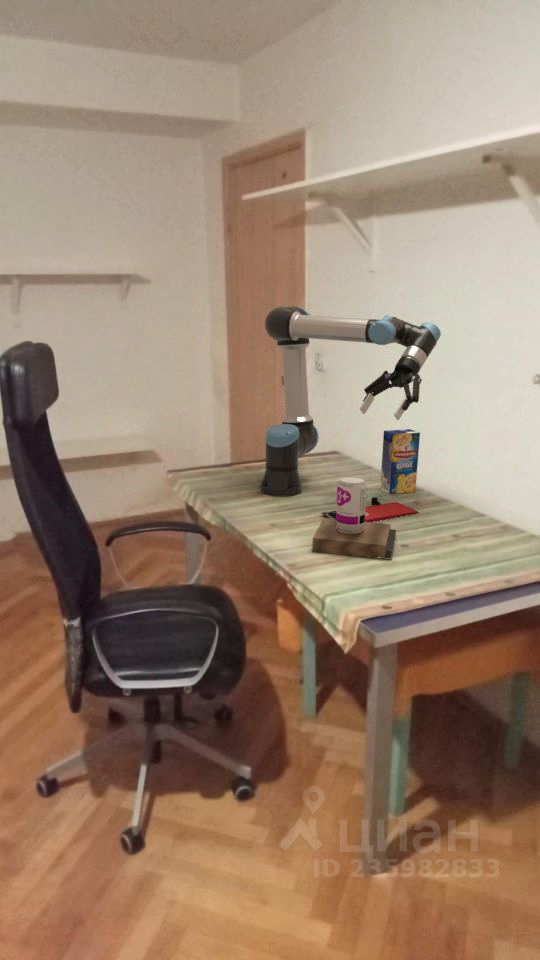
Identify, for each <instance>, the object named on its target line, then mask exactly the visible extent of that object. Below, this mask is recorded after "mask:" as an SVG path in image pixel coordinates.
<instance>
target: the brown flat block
mask: <svg viewBox="0 0 540 960" xmlns="http://www.w3.org/2000/svg"><path fill="white" fill-rule="evenodd" d="M335 525H336V519H331V518H330V517H323V519H321V522H320V524H319V526H318V527H317V529H316V531H315V533H314V535H313V537H312V549H311V550H312V552H315V553H326V554H334V555H343V556H351V555H356V556H355V557H360V556H368V557H367V558H369V556H370V557H381V558H391V559H392V557H393V552H392V551H394V547H393V546H394V545H395V542H394V541H396V536H397V533H396V532H397V529H392V526H391V525H392V524H391V523H384V522H383V523H382V522H365V525H364V530H363V531H362V532H361V533H359V534H344V533H340V532H339V531H338V530H337V529H336V528H335ZM391 556H392V557H391Z"/></svg>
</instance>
